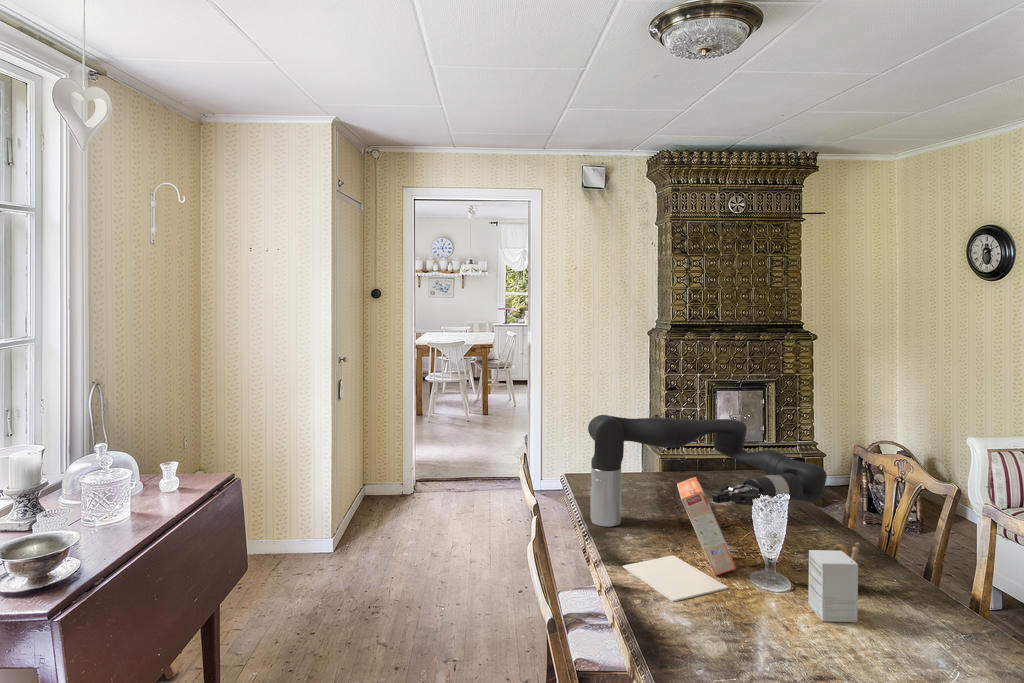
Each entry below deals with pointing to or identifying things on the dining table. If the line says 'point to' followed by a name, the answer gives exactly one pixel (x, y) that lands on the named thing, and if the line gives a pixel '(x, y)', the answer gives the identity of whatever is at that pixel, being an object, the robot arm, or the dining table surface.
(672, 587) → the cream placemat
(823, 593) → the supplement box
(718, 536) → the cracker box
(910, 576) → the dining table surface
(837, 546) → the snail figurine
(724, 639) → the dining table surface
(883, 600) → the dining table surface
